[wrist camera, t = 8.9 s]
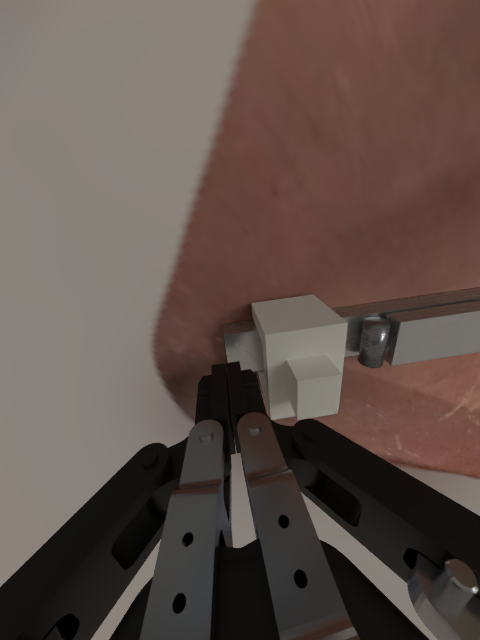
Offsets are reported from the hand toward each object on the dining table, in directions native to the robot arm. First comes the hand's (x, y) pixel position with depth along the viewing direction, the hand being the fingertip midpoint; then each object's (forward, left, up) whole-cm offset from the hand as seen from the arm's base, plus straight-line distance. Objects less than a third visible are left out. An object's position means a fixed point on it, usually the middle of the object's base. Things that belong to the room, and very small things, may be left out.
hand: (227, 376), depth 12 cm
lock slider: (-4, 0, -3) cm, 5 cm away
